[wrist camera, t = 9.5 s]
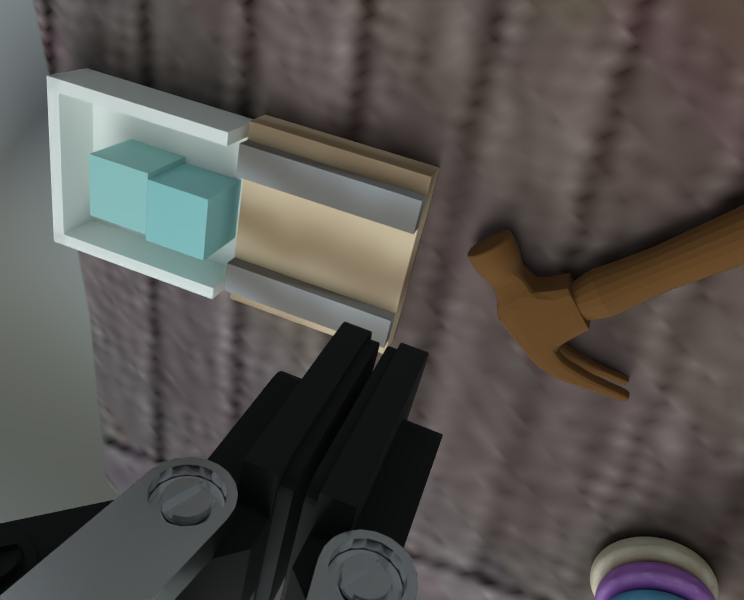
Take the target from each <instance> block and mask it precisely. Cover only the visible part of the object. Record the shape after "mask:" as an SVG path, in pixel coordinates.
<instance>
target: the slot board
mask: <svg viewBox="0 0 744 600" xmlns="http://www.w3.org/2000/svg"><path fill="white" fill-rule="evenodd" d="M438 172H439V167H436V166H433V165H429V164H426V163H423V162H419V161H416V160H413V159H410V158H406V157H403V156H400V155H396V154H393V153H390V152H387V151H383V150H380V149H377V148H374V147H370V146H367V145H364V144H360V143H357V142H354V141H351V140H347V139H344V138H341V137H337V136H334V135H331V134H328V133H324V132H321V131H318V130H315V129H311V128H308V127H305V126H301V125H298V124H295V123H292V122H288V121H285V120H282V119H278V118H275V117H272V116H269V115H263V116H260V117H258V118H256V119H253V120H251V121H250V123H249V132H248V140H246V141H244V142H241V143H239V152H238V162H237V171H236V177H239V178H242V179H243V186H242V195H241V204H240V213H239V222H238V231H237V240H236V249H235V257H234V258H233V259H232V260H230V261H229V262H228V263H227V267H226V276H225V286H224V291H227V292H230V293H231V294H230V298H231V299H234V300H236V301H239V302H242V303H245V304H247V305H250V306H253V307H256V308H258V309H261V310H264V311H267V312H269V313H272V314H275V315H278V316H280V317H283V318H286V319H289V320H291V321H294V322H297V323H300V324H302V325H305V326H308V327H311V328H314V329H316V330H319V331H322V332H325V333H327V334H330V335H334V334H335V333H336V331H337V330H338V329H339V327H340V326H341V324H342V323H343V322H348V323H351V324H353V325H356V326H359V327H361V328H364V329H367V330H369V331H372V337H371V340H374V341H377V342H379V343H380V346H379V350H378V352H380V353H382V354H383V353H384V351H385V349H386V348H387V346H390V345H391V343H392V341H393V339H394V336H395V332H396V329H397V325H398V321H399V317H400V314H401V310H402V306H403V302H404V299H405V295H406V291H407V288H408V284H409V280H410V276H411V273H412V269H413V265H414V261H415V258H416V254H417V250H418V246H419V243H420V239H421V235H422V232H423V228H424V224H425V220H426V217H427V213H428V209H429V205H430V202H431V198H432V194H433V190H434V187H435V183H436V179H437V176H438Z"/></svg>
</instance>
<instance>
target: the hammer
mask: <svg viewBox="0 0 744 600" xmlns="http://www.w3.org/2000/svg"><path fill="white" fill-rule="evenodd" d="M468 257H469V259H470V261H471V263H472V265H473V266H474V268H475V269H476V271H477V272H478V273H479V274H480V275H481V276H482V277H483V278H484V279H485V280H487V281H488V282H489V283H490V284H491V285H492V287H493V288H494V290H495V293H496V296H497V311H498V316H499V319H500V321H501V322H502V323H503V325H504V326H505V327H506V329H507V330H508V331H509V333H510V334H511V335H512V337H513V338H514V339H515V340H516V342H517V343H518V344H519V345H520V347H521V348H522V349H523V350H524V352H525V353H526V354H527V355H528V356H529V357H530V358H531V359H532V361H533V362H534V363H535V364H536V365H537V366H538V367H540V368H541V369H543V370H544V371H546V372H547V373H549V374H551V375H553V376H554V377H556V378H558V379H560V380H563V381H565V382H567V383H570V384H573V385H576V386H579V387H583V388H586V389H589V390H592V391H594V392H597V393H600V394H603V395H606V396H610V397H613V398H616V399H619V400H622V401H627V400H628V399H629V392H628V390H626V389H624V388H622V387H620V386H618V385H615V384H613V383H611V382H608V381H606V380H604V379H602V378H600V377H603V378H606V379H609V380H612V381H615V382H618V383H621V384H627V383H628V382H629V378H628V377H627V376H625V375H623V374H621V373H619V372H617V371H614V370H612V369H609V368H607V367H605V366H603V365H601V364H599V363H597V362H595V361H593V360H591V359H589V358H587V357H586V356H584V355H582V354H581V353H579V352H577V351H576V350H574V349H573V348H571V347H570V346H568V345H567V344H566V343H565V342H567V341H569V340H571V339H572V338H574V337H576V336H578V335H580V334H582V333H584V332H586V331H588V330H589V327H590V320H596V319H602V318H607V317H613V316H616V315H618V314H620V313H622V312H624V311H626V310H628V309H630V308H632V307H634V306H636V305H638V304H640V303H643V302H645V301H647V300H649V299H652V298H654V297H656V296H658V295H661V294H663V293H665V292H667V291H670V290H672V289H675V288H678V287H680V286H683V285H686V284H689V283H692V282H695V281H698V280H700V279H703V278H706V277H709V276H712V275H715V274H718V273H720V272H723V271H726V270H729V269H732V268H735V267H738V266H740V265H743V264H744V205H742V206H740V207H738V208H736V209H733V210H731V211H729V212H727V213H725V214H723V215H721V216H718V217H716V218H714V219H712V220H710V221H708V222H706V223H703V224H701V225H699V226H697V227H695V228H693V229H690V230H688V231H686V232H684V233H682V234H680V235H678V236H675V237H673V238H671V239H669V240H667V241H665V242H663V243H660V244H658V245H656V246H654V247H652V248H649V249H646V250H644V251H641V252H638V253H636V254H633V255H630V256H628V257H625V258H622V259H620V260H617V261H614V262H611V263H608V264H605V265H602V266H599V267H596V268H592V269H591V270H589V271H588V272H586V273H585V274H583V275H582V276H580V277H579V278H577V279H576V280H575V281H574V279H573V277H572V276H571V275H570V273H566V274H560V275H554V276H546V277H537V276H535V275H534V274H533V273H532V272H531V271H530V270H529V269H528V268H527V266H526V265H525V264H524V263H523V262H522V258H521V252H520V249H519V246H518V244H517V241H516V239H515V237H514V236H513V234H512V232H511V231H510V230H503V231H501V232H498V233H496V234H494V235H491V236H489V237H487V238H485V239H483V240H481V241H479V242H478V243H477V244H475V245H474V246H473V247H472V248H471V249H470V250H469V252H468ZM596 375H597V376H596ZM598 376H600V377H598Z"/></svg>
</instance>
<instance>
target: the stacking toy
mask: <svg viewBox="0 0 744 600" xmlns="http://www.w3.org/2000/svg"><path fill="white" fill-rule="evenodd" d="M590 583H591V588H592V591H593V594H594V596H595V600H718V598H719V588H718V583H717V580H716V577H715V575H714V573H713V571H712V569H711V568H710V566H709V565H708V564H707V563H706V562H705V561H704V560H703V559H702V558H701V557H700V556H699V555H698V554H696V553H695V552H694V551H692V550H690V549H689V548H687V547H685V546H683V545H681V544H679V543H676V542H673V541H670V540H666V539H662V538H657V537H632V538H626V539H623V540H619V541H617V542H614V543H612V544H610V545H609V546H607V547H606V548H604V549H603V550H602V551H601V552H600V553H599V554H598V556H597V557H596V558H595V560H594V562H593V565H592V568H591V572H590Z"/></svg>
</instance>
